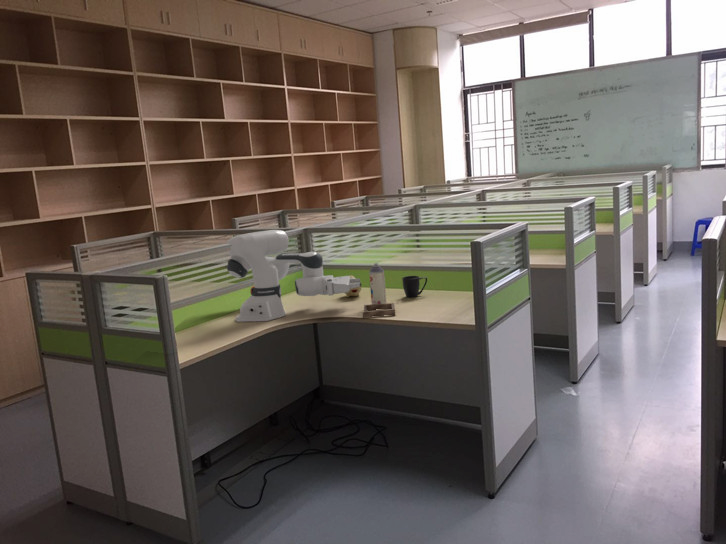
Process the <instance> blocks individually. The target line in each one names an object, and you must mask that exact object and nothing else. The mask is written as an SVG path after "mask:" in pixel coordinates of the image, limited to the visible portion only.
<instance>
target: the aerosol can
mask: <svg viewBox="0 0 726 544" xmlns="http://www.w3.org/2000/svg"><path fill="white" fill-rule="evenodd" d="M368 274H369V286H370V288H369V289H370V298H371V300H370V301H371V305H372V304H385V303H387V292H386V290H387V289H386V280H385V279H386V278H385V269H384V268H382V267H381V266H380V265H379V264H378V262H376V263H375V262H374V264H373V266H372V267H371V269H370V270H369V272H368Z"/></svg>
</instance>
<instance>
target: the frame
mask: <svg viewBox="0 0 726 544" xmlns="http://www.w3.org/2000/svg"><path fill="white" fill-rule="evenodd" d="M376 309H386V310H376ZM367 310H372V311H367ZM384 315H393V316H396V306H395V302H389V303H387V302H386V303H385V304H372V303H371V304H364V305H363V317H366V318H373V317H372V316H380V317H385V316H384Z"/></svg>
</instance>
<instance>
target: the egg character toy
mask: <svg viewBox="0 0 726 544" xmlns="http://www.w3.org/2000/svg"><path fill="white" fill-rule="evenodd" d="M349 276H350V278H355V279H357V278H356V277H355V276H354V275H350V274H349ZM352 284H353V283H352ZM361 290H362V282H360V287H356V288H352V289H350V290H349V292H346V293H344V294H345V295H346V298H350V297H354V296H356V297H360V293H361Z"/></svg>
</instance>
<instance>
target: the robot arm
mask: <svg viewBox="0 0 726 544" xmlns="http://www.w3.org/2000/svg"><path fill="white" fill-rule="evenodd" d="M289 240H290V239H289V236H288V234H287V233H286V232H285V231H284V230H281V229H269V230H262V231H261V230H260V231H254V232H248V233H243V234H237V235H235V236H233V237H231V238H229V239H228V240H227V241H226V243H225V245H226V244H231V245H232V246H231V250H230V251H229V252H228V253H227V255H229V256H230V258H229V260H227V265H226V270H227V272H228V273H229V274H230V275H231V276H232V277H235V278H239V279H243V278H245V277H246V276H247V275H248V273H249V271H250V270H251V272H252V278H253V285H252V286H251V287H250V296H249V297H248V298H247V299H246V300H245V301H244V302H243V303H242V304H241V306H240V308H239V309H240V310H239V311H240V312H239V314H237V316H236V317H235V321H236V322H237V323H238V322H239V323H240V322H241V323H245V322H246V323H247V322H249V323H250V322H269V321H272V320H275V319H276V320H277V319H279V318H282V317H284V316H286V311H285V308H284V305H283V301H282V288H281V284H280V281H281V280H284V278H286V276H287V274H288V273H289V270H290V265H291V263H292V264H299V265H301V268H302V277H301V278H296V279H295V281H294V287H295V292H296V295H297V296H301V297H315V296H318V295H320V296H321V295H322V296H334V295H337V294H345V293H346V292H349V290H350V289H352V288H356V287H360V283H361V279H360V278H356V277H355V278H356V279H355V278H350V275H344V276H336V277H334V275H333V274H332V275H331V274H330V275H324V266H323V264H324V263H323V256H322V255H321V254H320V253H318V251H305V252H284V251H286V250H287V249H288V247H289V244H290V241H289ZM283 252H284V253H283ZM277 254H278V255H277ZM272 255H276V257H271V256H272ZM352 283H353V284H352Z"/></svg>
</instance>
